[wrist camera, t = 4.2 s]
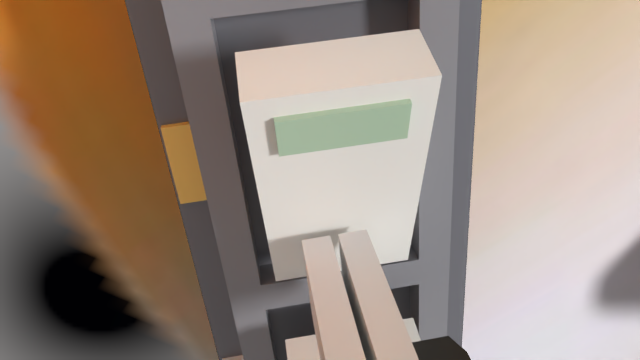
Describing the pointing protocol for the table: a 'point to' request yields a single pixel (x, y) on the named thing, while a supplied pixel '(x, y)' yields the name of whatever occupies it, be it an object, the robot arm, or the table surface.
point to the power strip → (237, 171)
